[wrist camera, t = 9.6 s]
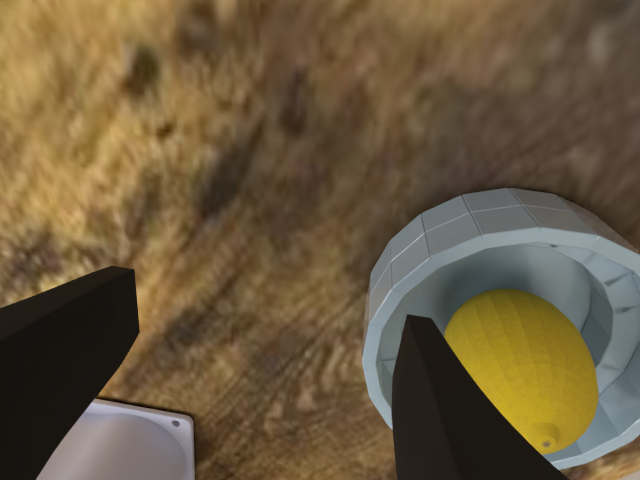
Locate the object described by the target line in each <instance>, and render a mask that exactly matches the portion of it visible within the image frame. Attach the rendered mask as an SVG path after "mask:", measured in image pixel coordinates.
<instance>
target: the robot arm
mask: <svg viewBox="0 0 640 480" xmlns="http://www.w3.org/2000/svg"><path fill="white" fill-rule="evenodd" d="M139 333H140V331H139V319H138V307H137V296H136V284H135V272H134V269H128V268H122V267H116V266H111V267H107V268H104V269H101V270H98V271H95V272H93V273H90V274H87V275H85V276H82V277H80V278H77V279H75V280H72V281H70V282H67V283H65V284H62V285H60V286H57V287H55V288H52V289H50V290H47V291H45V292H42V293H40V294H37V295H35V296H32V297H30V298H27V299H24V300H21V301H19V302H16V303H13V304H11V305H8V306H5V307H2V308H0V480H195V463H194V427H193V420H192V418H191V417H189V416H187V415H183V414H177V413H172V412H166V411H161V410H155V409H150V408H144V407H139V406H133V405H128V404H122V403H117V402H111V401H106V400H100V399H95V398H96V396H97V395H98V394H99V393H100V391H101V390H102V389H103V387H104V386H105V385H106V384H107V382H108V381H109V380H110V378H111V377H112V376H113V374H114V373H115V372H116V371H117V369H118V368H119V367H120V365H121V364H122V362H123V360H124V359H125V357H126V355H127V354H128V352H129V350H130V349H131V347H132V345H133V343H134V342H135V340H136V338H137V336H138V334H139ZM391 415H392V427H393V438H394V449H395V460H396V471H397V480H569V479H568V478H567V477H566V476H564V475H563V474H562V473H561V472H560V471H559V470H558V469H557V468H556V467H554V466H553V465H552V464H551V463H550V462H549V461H548V460H547V459H546V458H545V457H543V456H542V455H541V454H540V453H539V452H538V451H537V450H536V449H535V448H534V447H533V446H532V445H531V444H530V443H529V442H528V441H527V440H526V439H525V438H524V437H523V436H522V435H521V434H520V433H519V432H518V431H517V430H516V429H515V428H514V427H513V426H512V424H511V423H510V422H509V421H508V420H507V419H506V418H505V417H504V416H503V415H502V414H501V413H500V411H499V410H498V409H497V408H496V407H495V406H494V405H493V403H492V402H491V401H490V400H489V398H488V397H487V396H486V395H485V394H484V392H483V391H482V390H481V389H480V388H479V386H478V385H477V384H476V382H475V381H474V380H473V378H472V377H471V376H470V374H469V373H468V371H467V370H466V369H465V367H464V366H463V365H462V363H461V362H460V360H459V359H458V357H457V356H456V355H455V353H454V352H453V350H452V349H451V347H450V346H449V344H448V343H447V341H446V339H445V338H444V336H443V335H442V333H441V332H440V330H439V329H438V327H437V326H436V324H435V323H434V321H433V320H432V318H428V317H422V316H416V315H410V314H407V316H406V320H405V325H404V329H403V333H402V337H401V342H400V346H399V350H398V354H397V359H396V363H395V367H394V371H393V376H392V405H391Z"/></svg>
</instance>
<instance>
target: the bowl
mask: <svg viewBox="0 0 640 480" xmlns="http://www.w3.org/2000/svg"><path fill="white" fill-rule="evenodd" d="M495 289H518V290H522V291H526V292H529V293H533V294H535V295H537V296H539V297H541V298H543V299H545V300H546V301H548V302H550V303H551V304H553V305H554V306H555V307H557V308H558V309H559V310H560V311H561V312H562V313H563V314H564V315H565V316H566V317H567V318H568V319H569V320H570V321H571V322H572V323H573V324H574V325H575V327H576V328H577V329H578V331H579V333H580V335H581V336H582V338H583V340H584V342H585V344H586V346H587V347H588V349H589V352H590V354H591V356H592V359H593V362H594V366H595V370H596V377H597V384H598V391H599V395H598V403H597V408H596V412H595V416H594V419H593V420H592V422H591V424H590V425H589V427H588V429H587V430H586V432H585V433H584V434H583V435H582V436H581V437H580V438H579V439H578V440H577V441H575V442H574V443H573V444H571V445H569V446H568V447H566V448H564V449H562V450H559V451H557V452H554V453H549V454H543V455H542V456H543V457H545V458H546V459H547V460H548V461H549V462H550V463H551V464H552V465H553V466H554V467H556V468H557V469H558V470H561V469H565V468H569V467H574V466H578V465H582V464H586V463H588V462H591V461H593V460H595V459H597V458H599V457H601V456H603V455H606V454H608V453H610V452H612V451H614V450H616V449H618V448H620V447H622V446H624V445H626V444H628V443H629V442H632V441H633V440H634V439H635V438H636V437H638V436H639V435H640V252H639V251H638V250H637V249H635V248H634V247H633V246H632V245H631V244H630V243H628V242H627V241H626V240H625V239H624V238H622V237H621V236H620V235H619V234H618V233H616V232H615V231H614V230H613V229H612V228H611V227H609V226H608V225H607V224H606V223H605V222H603V221H602V220H601V219H600V218H599V217H597V216H596V215H595V214H594V213H593V212H591V211H589V210H587V209H585V208H583V207H580V206H578V205H576V204H574V203H572V202H570V201H568V200H566V199H564V198H562V197H560V196H558V195H556V194H551V193H544V192H537V191H529V190H522V189H515V188H509V189H508V188H502V189H495V190H489V191H482V192H476V193H469V194H463V195H460V196H458V197H456V198H453V199H451V200H449V201H447V202H445V203H442V204H440V205H438V206H436V207H434V208H432V209H429V210H427V211H425V212H423V213H422V214H419V215H418V216H417V217H416V218H415V219H414V220H412V221H411V222H410V223H409V224H408V225H407V226H406V227H405V228H403V229H402V230H401V231H400V232H399V233H398V234H397V235H395V236H394V237H393V238H392V239H391V240H390V241H389V243H388V244H387V246H386V248H385V249H384V251H383V253H382V255H381V256H380V258H379V260H378V261H377V263H376V265H375V267H374V268H373V270H372V273H371V275H370V281H369V286H368V292H367V297H366V303H365V317H364V333H363V350H362V366H363V370H364V375H365V380H366V384H367V389H368V394H369V396H370V399H371V400H372V402H373V403H374V405H375V406H376V408H377V410H378V411H379V413H380V414H381V416H382V417H383V419H384V420H385V422H386V423H387V425H388V426H389V427H390V428H391V429H392V430H393V427H392V415H391V405H392V376H393V371H394V367H395V363H396V359H397V354H398V350H399V346H400V342H401V337H402V333H403V329H404V325H405V320H406V316H407V314H410V315H416V316H422V317H428V318H432V320H433V321H434V323H435V324H436V326H437V327H438V329H439V330H440V332H441V333H442V335H443V336H444V333H445V329H446V327H447V325H448V323H449V321H450V319H451V317H452V316H453V314H454V313H455V312H456V311H457V310H458V308H459V307H460V306H461V305H462V304H463V303H464V302H466V301H467V300H469V299H470V298H472V297H473V296H475V295H477V294H480V293H483V292H485V291H489V290H495Z"/></svg>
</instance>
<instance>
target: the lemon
mask: <svg viewBox="0 0 640 480" xmlns="http://www.w3.org/2000/svg"><path fill="white" fill-rule="evenodd" d="M444 338H445V339H446V341H447V343H448V344H449V346H450V347H451V349H452V350H453V352H454V353H455V355H456V356H457V357H458V359H459V360H460V362H461V363H462V365H463V366H464V367H465V369H466V370H467V371H468V373H469V374H470V376H471V377H472V378H473V380H474V381H475V382H476V384H477V385H478V386H479V388H480V389H481V390H482V391H483V392H484V394H485V395H486V396H487V397H488V398H489V400H490V401H491V402H492V403H493V405H494V406H495V407H496V408H497V409H498V410H499V411H500V413H501V414H502V415H503V416H504V417H505V418H506V419H507V420H508V421H509V422H510V423H511V424H512V426H513V427H514V428H515V429H516V430H517V431H518V432H519V433H520V434H521V435H522V436H523V437H524V438H525V439H526V440H527V441H528V442H529V443H530V444H531V445H532V446H533V447H534V448H535V449H536V450H537V451H538V452H539V453H540V454H541V455H543V454H549V453H554V452H557V451H559V450H562V449H564V448H566V447H568V446H569V445H571V444H573V443H574V442H575V441H577V440H578V439H579V438H580V437H581V436H582V435H583V434H584V433H585V432H586V430H587V429H588V427H589V425H590V424H591V422H592V420H593V419H594V416H595V412H596V408H597V403H598V395H599V391H598V384H597V377H596V370H595V366H594V362H593V359H592V356H591V354H590V352H589V349H588V347H587V346H586V344H585V342H584V340H583V338H582V336H581V335H580V333H579V331H578V329H577V328H576V327H575V325H574V324H573V323H572V322H571V321H570V320H569V319H568V318H567V317H566V316H565V315H564V314H563V313H562V312H561V311H560V310H559V309H558V308H557V307H555V306H554V305H553V304H551V303H550V302H548V301H546V300H545V299H543V298H541V297H539V296H537V295H535V294H533V293H529V292H526V291H522V290H518V289H495V290H489V291H485V292H483V293H480V294H477V295H475V296H473V297H472V298H470V299H469V300H467V301H466V302H464V303H463V304H462V305H461V306H460V307H459V308H458V310H457V311H456V312H455V313H454V314H453V316H452V317H451V319H450V321H449V323H448V325H447V327H446V329H445V333H444Z"/></svg>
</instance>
